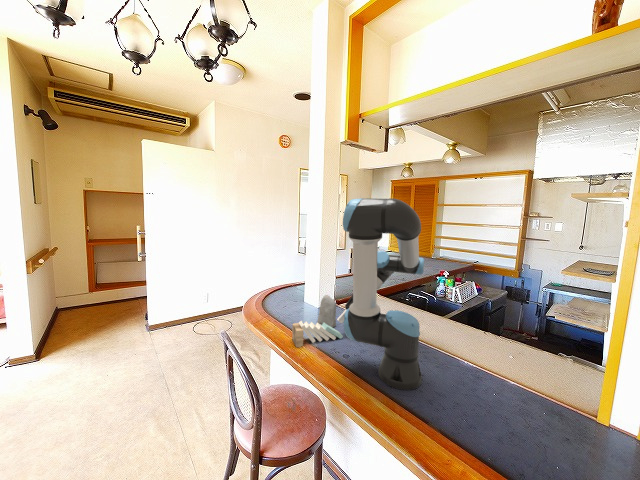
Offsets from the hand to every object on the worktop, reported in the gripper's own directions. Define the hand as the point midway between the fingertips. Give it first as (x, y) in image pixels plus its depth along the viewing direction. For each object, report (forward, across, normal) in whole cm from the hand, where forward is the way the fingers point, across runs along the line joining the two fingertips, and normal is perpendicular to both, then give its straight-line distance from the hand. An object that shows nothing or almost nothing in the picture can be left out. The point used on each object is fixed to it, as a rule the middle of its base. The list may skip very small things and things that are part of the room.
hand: (339, 321), depth 127 cm
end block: (+20, 0, +9) cm, 22 cm away
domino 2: (+12, 0, +2) cm, 12 cm away
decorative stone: (+6, +15, -5) cm, 17 cm away
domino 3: (+9, 0, 0) cm, 9 cm away
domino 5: (+4, 0, -5) cm, 7 cm away
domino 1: (+14, 0, +4) cm, 15 cm away
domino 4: (+7, 0, -3) cm, 7 cm away
